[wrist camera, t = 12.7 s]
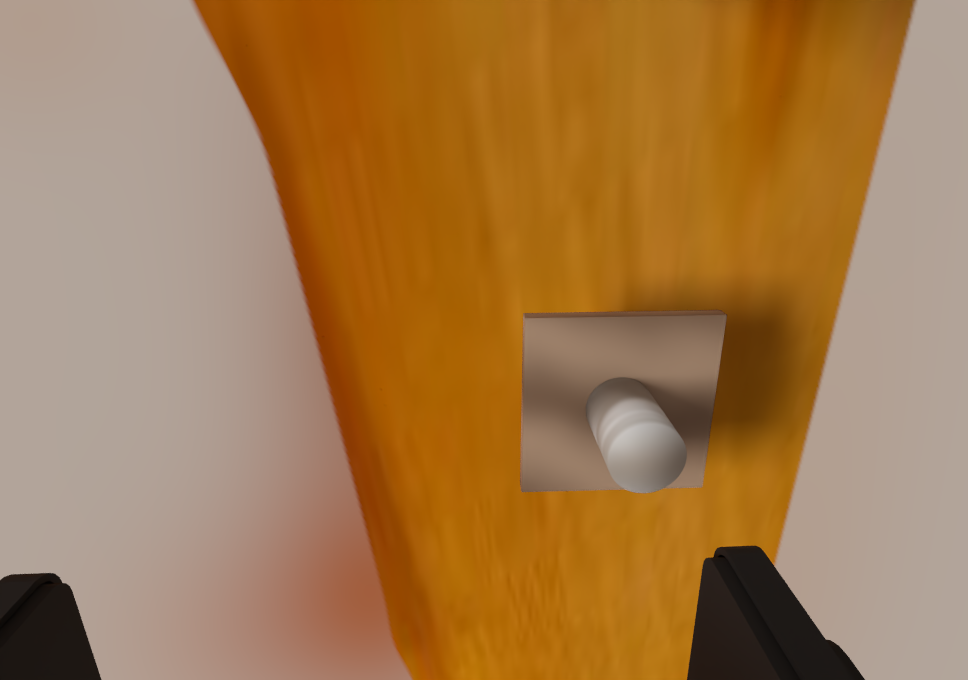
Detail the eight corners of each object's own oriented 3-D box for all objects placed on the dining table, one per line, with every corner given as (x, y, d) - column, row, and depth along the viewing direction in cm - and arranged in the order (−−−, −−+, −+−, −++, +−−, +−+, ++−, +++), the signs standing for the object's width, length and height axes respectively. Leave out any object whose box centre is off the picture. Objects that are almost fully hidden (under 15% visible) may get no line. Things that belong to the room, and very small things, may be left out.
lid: (523, 313, 30) (537, 356, 24) (720, 309, 30) (777, 351, 25) (520, 483, 33) (532, 554, 28) (696, 479, 33) (742, 548, 28)
